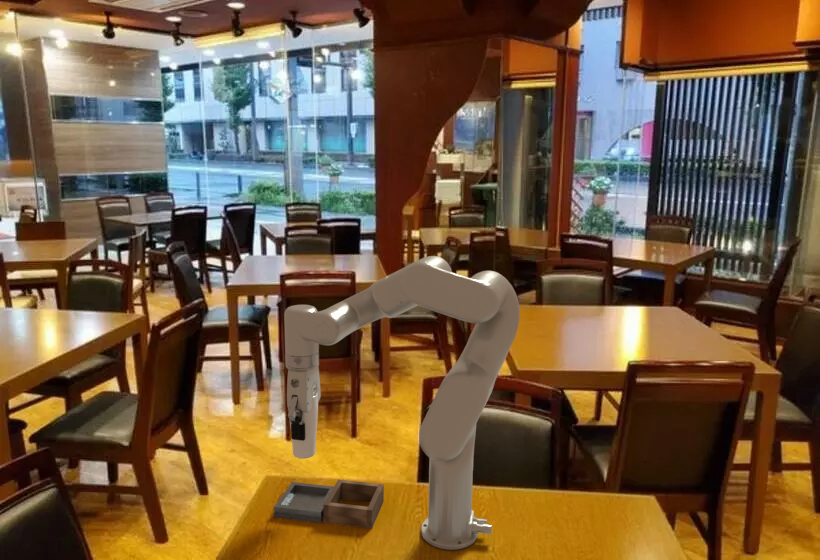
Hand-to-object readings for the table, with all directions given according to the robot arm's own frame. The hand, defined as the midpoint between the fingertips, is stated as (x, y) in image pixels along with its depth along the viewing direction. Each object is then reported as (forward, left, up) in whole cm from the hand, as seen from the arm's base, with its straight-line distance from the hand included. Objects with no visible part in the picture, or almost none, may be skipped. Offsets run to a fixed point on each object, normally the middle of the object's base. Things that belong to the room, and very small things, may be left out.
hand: (303, 432), depth 144 cm
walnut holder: (-12, 0, -19) cm, 23 cm away
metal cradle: (0, 0, -19) cm, 19 cm away
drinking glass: (0, 0, -6) cm, 6 cm away
